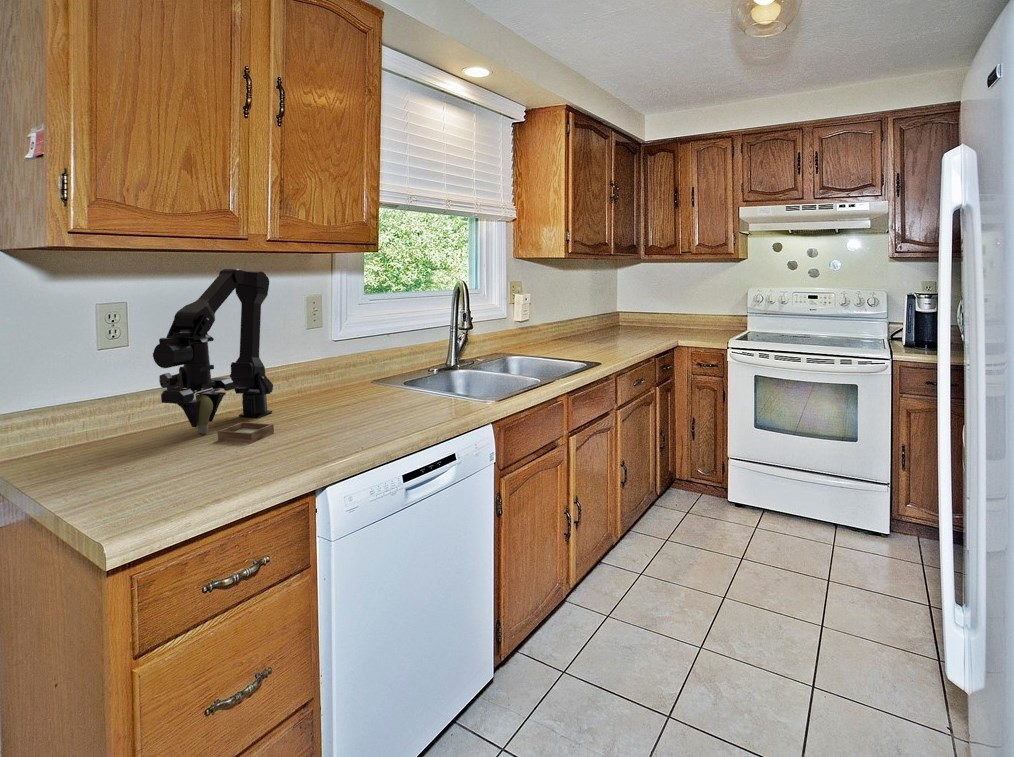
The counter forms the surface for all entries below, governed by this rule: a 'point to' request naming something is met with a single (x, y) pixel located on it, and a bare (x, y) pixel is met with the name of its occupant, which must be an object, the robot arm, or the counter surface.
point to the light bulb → (204, 413)
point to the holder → (245, 432)
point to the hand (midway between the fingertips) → (202, 424)
